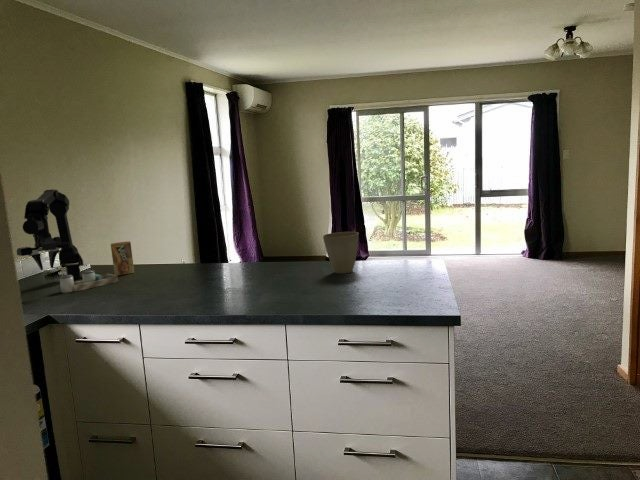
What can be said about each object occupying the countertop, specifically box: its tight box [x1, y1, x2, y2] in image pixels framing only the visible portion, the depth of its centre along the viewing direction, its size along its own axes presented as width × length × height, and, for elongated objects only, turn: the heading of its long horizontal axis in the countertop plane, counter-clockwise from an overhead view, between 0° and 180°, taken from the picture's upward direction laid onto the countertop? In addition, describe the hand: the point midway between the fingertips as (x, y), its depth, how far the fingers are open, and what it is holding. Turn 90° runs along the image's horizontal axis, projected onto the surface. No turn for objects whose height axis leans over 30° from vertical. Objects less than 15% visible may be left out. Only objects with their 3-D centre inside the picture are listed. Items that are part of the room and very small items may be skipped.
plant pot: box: [322, 231, 359, 275], centre depth 217 cm, size 15×15×16 cm
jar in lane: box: [81, 269, 96, 284], centre depth 227 cm, size 5×5×7 cm
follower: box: [95, 273, 103, 281], centre depth 229 cm, size 1×6×4 cm, turn 48°
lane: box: [73, 273, 119, 292], centre depth 228 cm, size 19×9×3 cm, turn 138°
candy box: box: [110, 240, 135, 276], centre depth 249 cm, size 9×4×15 cm, turn 116°
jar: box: [59, 274, 75, 294], centre depth 220 cm, size 5×5×7 cm
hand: (46, 268), depth 214 cm, fingers open, 4 cm apart
